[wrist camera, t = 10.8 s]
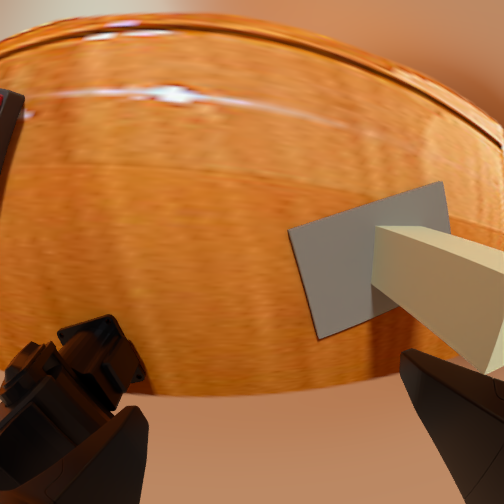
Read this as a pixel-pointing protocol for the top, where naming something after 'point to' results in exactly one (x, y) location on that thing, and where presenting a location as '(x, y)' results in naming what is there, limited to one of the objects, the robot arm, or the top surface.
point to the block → (446, 288)
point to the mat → (357, 255)
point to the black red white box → (8, 118)
